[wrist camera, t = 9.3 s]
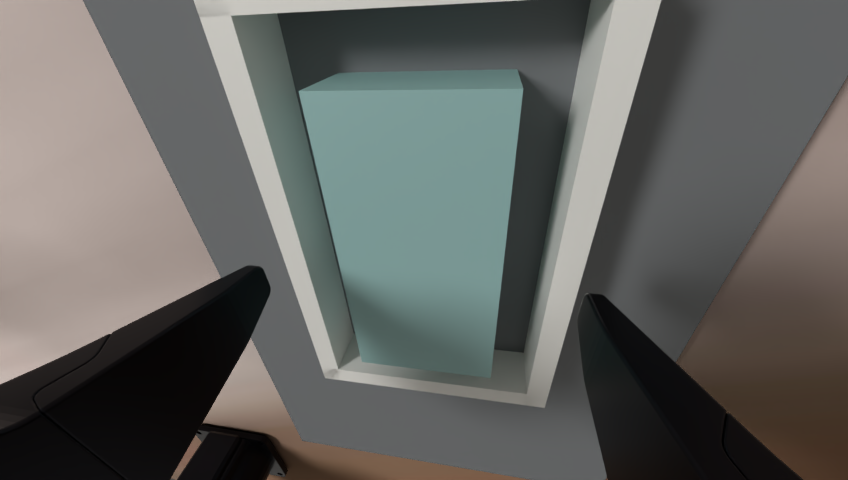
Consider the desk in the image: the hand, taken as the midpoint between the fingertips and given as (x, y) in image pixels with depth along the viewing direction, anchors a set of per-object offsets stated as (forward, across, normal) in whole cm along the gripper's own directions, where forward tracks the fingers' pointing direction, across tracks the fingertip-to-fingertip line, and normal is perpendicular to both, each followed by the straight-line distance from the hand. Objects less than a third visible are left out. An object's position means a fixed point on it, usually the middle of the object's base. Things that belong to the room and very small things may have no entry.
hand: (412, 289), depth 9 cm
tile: (+3, 0, 0) cm, 3 cm away
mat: (+4, 0, +5) cm, 7 cm away
